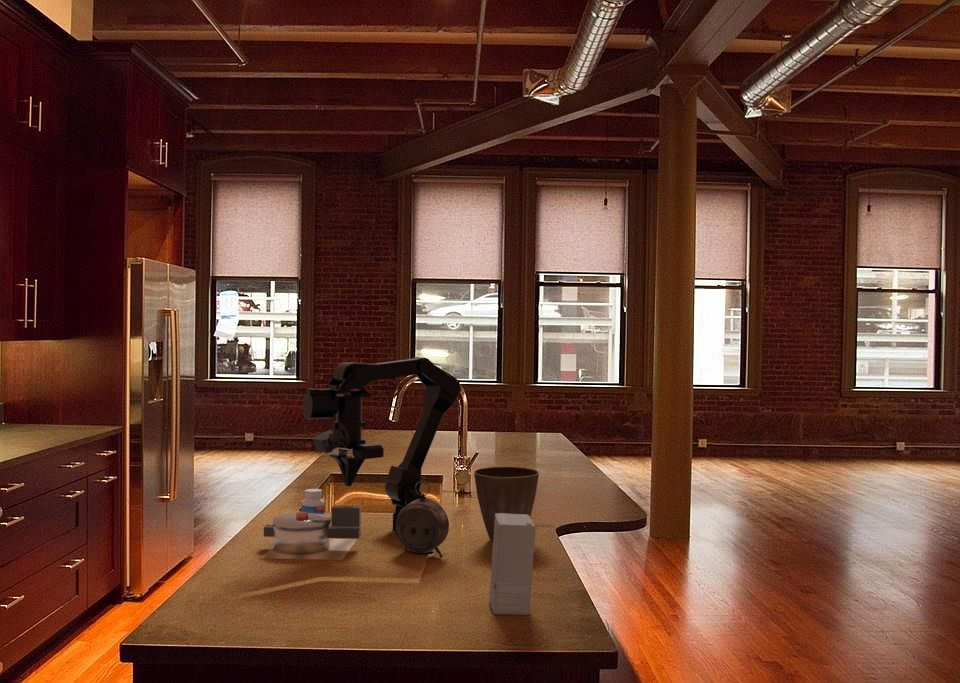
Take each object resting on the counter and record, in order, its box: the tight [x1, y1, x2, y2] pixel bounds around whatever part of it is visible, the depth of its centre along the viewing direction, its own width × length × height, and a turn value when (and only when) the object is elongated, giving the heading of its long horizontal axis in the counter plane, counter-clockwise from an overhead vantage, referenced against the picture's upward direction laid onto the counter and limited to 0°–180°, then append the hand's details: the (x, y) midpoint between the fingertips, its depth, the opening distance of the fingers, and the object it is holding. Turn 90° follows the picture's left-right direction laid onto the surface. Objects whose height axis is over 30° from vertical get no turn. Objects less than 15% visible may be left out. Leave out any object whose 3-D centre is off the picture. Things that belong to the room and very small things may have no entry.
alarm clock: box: [395, 480, 450, 558], centre depth 189 cm, size 11×5×16 cm, turn 73°
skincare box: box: [488, 513, 536, 616], centre depth 154 cm, size 8×7×16 cm
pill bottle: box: [300, 488, 325, 515], centre depth 212 cm, size 6×5×10 cm
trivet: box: [260, 538, 358, 561], centre depth 192 cm, size 17×18×1 cm
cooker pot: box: [263, 524, 362, 555], centre depth 192 cm, size 20×12×5 cm, turn 88°
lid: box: [272, 505, 362, 530], centre depth 192 cm, size 19×12×4 cm, turn 91°
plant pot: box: [473, 466, 540, 543], centre depth 204 cm, size 15×15×16 cm
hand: (348, 485), depth 202 cm, fingers closed
